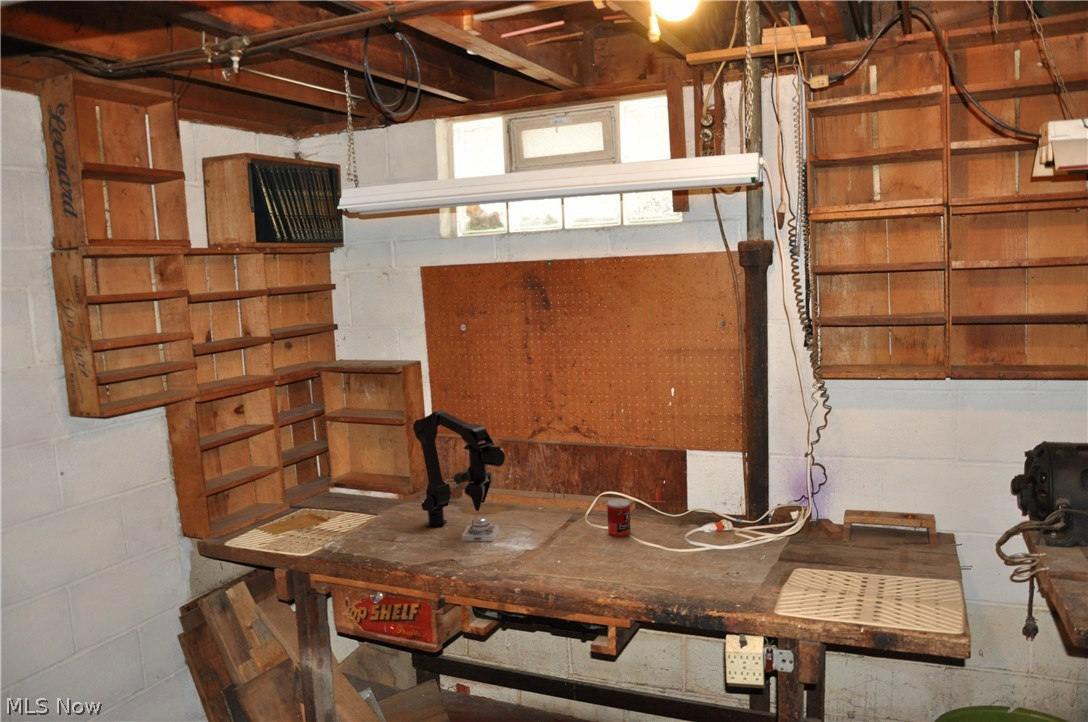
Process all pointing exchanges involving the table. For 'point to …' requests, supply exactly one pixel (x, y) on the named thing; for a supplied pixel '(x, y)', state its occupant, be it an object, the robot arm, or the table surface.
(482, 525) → the piston
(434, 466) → the robot arm
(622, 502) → the canned food
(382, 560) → the table surface
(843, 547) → the table surface
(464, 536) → the grey square frame
